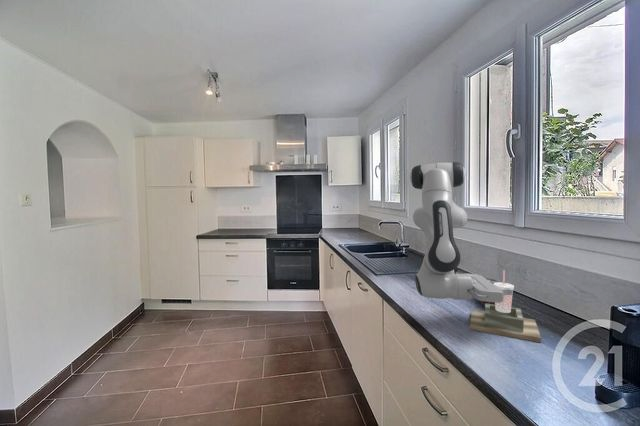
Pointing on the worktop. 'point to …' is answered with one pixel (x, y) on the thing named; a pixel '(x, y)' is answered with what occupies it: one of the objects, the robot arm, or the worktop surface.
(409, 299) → the worktop surface
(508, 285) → the beverage cup
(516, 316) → the collar stand
